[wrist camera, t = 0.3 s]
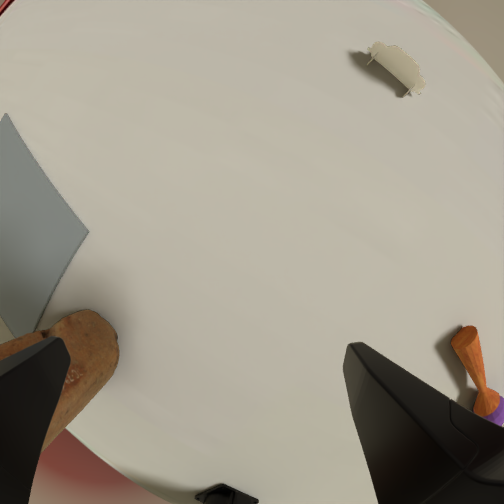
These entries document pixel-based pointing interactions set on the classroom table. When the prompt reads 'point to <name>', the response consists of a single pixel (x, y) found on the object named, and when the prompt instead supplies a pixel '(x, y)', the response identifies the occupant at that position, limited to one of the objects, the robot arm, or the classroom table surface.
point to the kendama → (478, 375)
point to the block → (76, 362)
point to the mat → (30, 234)
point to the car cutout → (398, 65)
